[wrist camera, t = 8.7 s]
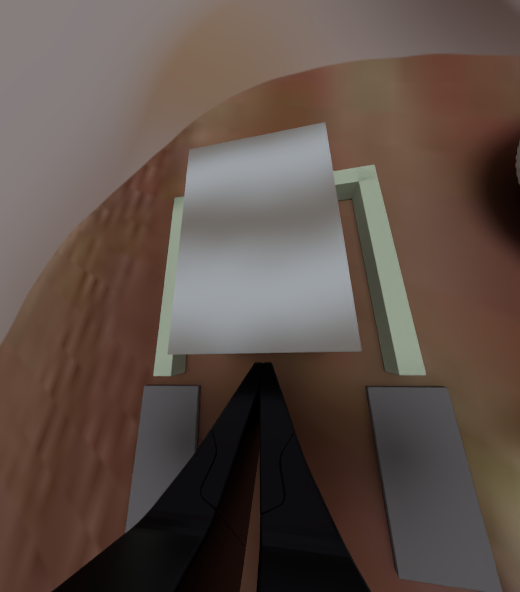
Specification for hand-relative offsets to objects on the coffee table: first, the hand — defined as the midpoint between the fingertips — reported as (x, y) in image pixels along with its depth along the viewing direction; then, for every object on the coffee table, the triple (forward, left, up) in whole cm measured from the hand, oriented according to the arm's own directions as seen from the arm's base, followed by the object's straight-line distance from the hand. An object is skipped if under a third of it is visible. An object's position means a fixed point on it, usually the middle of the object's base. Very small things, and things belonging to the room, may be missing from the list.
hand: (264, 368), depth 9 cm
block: (+6, -4, -7) cm, 10 cm away
